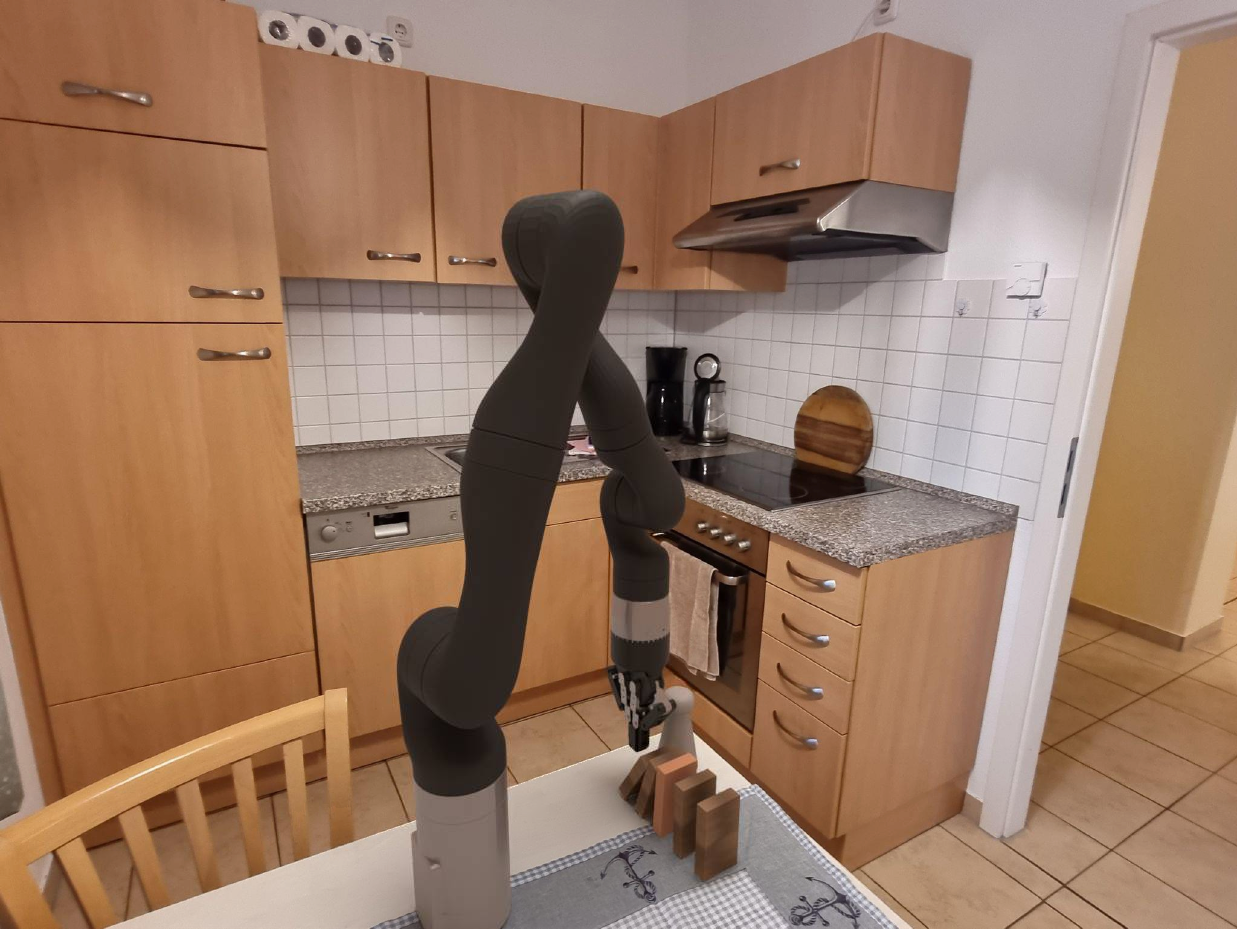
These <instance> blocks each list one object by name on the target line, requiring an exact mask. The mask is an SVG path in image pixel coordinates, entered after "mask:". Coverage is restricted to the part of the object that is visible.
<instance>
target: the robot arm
mask: <svg viewBox="0 0 1237 929" xmlns="http://www.w3.org/2000/svg"><path fill="white" fill-rule="evenodd" d="M625 237H626V234H625V225H624V221H623V217H622V214H621V211H620V209H619V207H618V205H617V204H616V203H615V201H614V199H612V197H610V196H609V195H608V194H606V193H605V192H602V191H600V190H594V189H575V190H565V191H559V192H549V193H545V194H538V195H537V194H536V195H532V196H529V197H525V198H522V199H520V200H518V201H517V202H515V203H514V204H513V206H511V207H510V209H509V210H508V211H507V213H506V216H505V217H504V219H503V224H502V227H501V247H502V252H503V257H504V259H505V262H506V265H507V268H508V269H509V272H510V274H511V276H512V277H513V280H514V282H515V284H516V286H517V287H518V289H519V291H520V292H521V294H522V296H523V298H524V299H525V302H526V303H527V305H528V307H529V308H530V311H531V312H532V314H533V315H534V316H533V319H532V322H531V324H530V325H529V326H530V327H529V329H528V332H527V334H526V335H525V337H524V339H523V341H522V343H521V344H520V346H519V347H518V348H517V350H516V351H515V353H514V354H513V355H512V357H511V358H510V359H509V361H508V362H507V363H506V365H505V366H504V367H503V369H502V370H501V372H500V373H499V374H498V376H497V377H496V378H495V380H494V381H493V382H492V384H491V385H490V387H489V388H488V390H487V391H486V393H485V394H484V396H483V398H482V400H481V401H480V403H479V404H478V407H477V410H476V412H475V415H474V418H473V420H472V424H471V428H470V433H469V436H468V440H467V444H466V448H465V453H464V456H463V460H462V465H461V469H460V478H459V480H460V482H459V502H460V513H461V523H462V530H463V531H462V534H463V540H464V552H465V553H464V554H465V555H464V556H465V566H464V567H465V570H464V579H463V585H462V589H461V595H460V598H459V602H458V606H457V607H456V606H450V605H449V606H447V605H445V606H444V605H443V606H439V607H435V608H432V609H429V610H428V611H425V612H423V613H422V614H421V615H420V616H418V617H417V618H416V619H415V620H414V621H413V622H412V623H411V624H410V626H409V627H408V629H407V630H406V632H405V633H404V635H403V637H402V639H401V642H400V645H399V648H398V652H397V659H396V682H397V694H398V695H397V696H398V702H399V711H400V712H399V714H400V723H401V729H402V737H403V743H404V745H405V747H406V748H405V749H406V750H407V753H408V755H409V758H410V760H411V765H412V777H413V778H412V779H413V792H414V796H413V797H414V811H415V825H416V826H415V827H416V830H414V831H413V832H411V834H410V840H411V855H412V857H411V859H412V870H413V885H414V886H413V887H414V890H413V891H414V904H415V911H416V914H417V916H418V919H419V921H420V923H421V925H422V928H423V929H502V927H503V926H504V925H505V923H506V922H507V920H508V919H509V915H510V913H511V906H512V894H511V893H512V883H511V860H510V859H511V858H510V857H511V856H510V831H509V830H510V829H509V827H510V826H509V825H510V824H509V797H508V793H509V792H508V766H507V764H508V763H507V762H508V760H507V759H508V755H507V741H506V738H505V734H504V732H503V730H502V728H501V725H500V724H499V723H498V721H497V718H496V716H497V715H499V713H500V712H501V711H502V710H503V708H505V705H506V704H507V702H508V701H509V699H510V698H511V695H512V693H513V691H514V688H515V686H516V683H517V682H518V681H517V680H518V678H519V674H520V673H519V672H520V668H521V664H522V659H523V653H524V646H525V639H526V631H527V623H528V617H529V610H530V604H531V599H532V598H531V597H532V590H533V586H534V580H535V575H536V571H537V567H538V563H539V558H540V554H541V549H542V545H543V541H544V536H545V530H546V526H547V522H548V519H549V514H550V510H551V506H552V502H553V499H554V496H555V493H556V489H557V486H558V482H559V478H560V475H561V470H562V467H563V462H564V459H565V458H564V457H565V455H566V451H567V450H566V449H567V445H568V440H569V436H570V432H571V431H570V430H571V426H572V421H573V418H574V416H575V410H576V407H577V404H578V407H579V410H580V413H581V415H582V419H583V421H584V423H585V427H586V430H587V432H588V435H589V437H590V441H591V444H592V446H593V449H594V452H595V454H596V456H597V458H598V460H599V461H600V462H601V463H602V464H603V465H604V466H605V467H608V468H610V469H612V470H611V471H610V472H608V474H606V477H604V480H603V482H602V485H601V488H600V492H599V512H600V516H601V520H602V524H603V528H604V532H605V536H606V537H605V538H606V540H607V544H608V548H609V552H610V554H611V557H612V596H611V597H612V598H611V602H610V631H609V632H610V640H609V641H610V642H609V643H610V648H609V650H610V654H609V655H610V660H611V662H612V663H613V664H611V665H608V666H606V667H605V672H606V676H607V678H608V681H609V686H610V687H611V691H612V693H613V696H614V699H615V702H616V705H617V707H618V711H620V712H623V711H624V717H625V720H626V721H627V723H628V726H627V727H628V728H627V729H628V730H627V731H628V734H627V737H628V747H629V748H630V749H632V751H634V752H635V753H639V752H642V751H645V750H647V749H648V748H649V746H650V741H651V740H650V737H651V736H650V733H651V729H653V728H656V727H658V726H661V725H662V724H664V721H665V719H666V718H667V717H668V716H669V715H670V714H671V713H672V712H673V711H674V710H675V709H676V707H677V705H676V702H675V700H674V699H671V700H668V699H667V697H666V695H665V693H664V692H665V690H664V689H665V687H666V686H665V684H666V683H665V679H664V674H663V671H664V668H665V667H666V665H667V664H668V663H669V660H670V653H671V652H670V650H671V647H670V645H671V644H670V643H671V614H672V613H671V602H670V601H671V600H670V567H671V565H670V556H669V552H668V550H667V549H666V548H665V547H664V546H663V545H661V544H660V543H658V542H656V541H655V540H653V539H652V538H651V537H650V535H648V533H647V531H651V532H656V533H665V532H668V531H671V530H673V529H674V528H675V527H677V526H678V525H679V523H680V522H681V520H682V518H683V516H684V514H685V511H686V503H687V502H686V497H687V496H686V491H685V487H684V484H683V481H682V478H681V476H680V474H679V473H678V471H677V469H676V467H675V466H674V464H673V462H672V461H671V459H670V458H669V456H668V454H667V453H666V451H665V450H664V448H663V446H662V445H661V444H660V442H659V441H658V439H657V438H656V436H655V434H654V432H653V427H652V424H651V421H650V418H649V414H648V410H647V407H646V403H645V400H644V397H643V395H642V392H641V389H640V388H639V387H640V386H639V385H638V383H637V381H636V379H635V377H634V376H633V374H632V372H631V371H630V369H629V368H628V366H627V365H626V364H625V362H624V361H623V360H622V358H621V357H620V355H618V353H617V352H616V351H615V348H613V346H612V345H611V344H610V342H608V340H607V339H606V337H605V336H604V334H603V333H602V332H601V330H600V329H601V324H602V322H603V320H604V316H605V314H606V312H607V308H608V306H609V303H610V300H611V297H612V294H613V292H614V289H615V286H616V283H617V282H618V277H619V274H620V270H621V267H622V262H623V258H624V250H625V240H626V238H625Z"/></svg>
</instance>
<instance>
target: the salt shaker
mask: <svg viewBox="0 0 1237 929" xmlns="http://www.w3.org/2000/svg"><path fill="white" fill-rule="evenodd" d="M664 693H665V695H666V697H667V699H668V700H671V699H674V700H675V702H676V705H677V707H676V709H675V710H674V711H673V712H672V713H671V714H670V715H669V716H668V717H667V718H666V719H665V720H664V722H663V726H662V730H661V734H660V738H659V742H658V747H657V749H659V748H661V747H664V746H666V745H669V744H671V743H672V744H673V745H674V747H675V749H676V748H678V747H682V748H683V749H684V751H685V752H686V753H690V754H691V755H693V756H694V757H695V758H696V759H697V760H698V756H697V751H696V750H697V749H696V742H695V737H694V730H693V723H692V722H693V721H692V717H691V716H692V715H691V713H692V711H693V710H694V708H695V704H696V702H695V696H694V693H693V692H692V691H691V689H689V688H687V687H685V686H680V685H676V686H675V685H674V686H671V687H668V688H666V689H665V690H664ZM698 763H699V761H698V762H697V769H698V766H699V764H698Z"/></svg>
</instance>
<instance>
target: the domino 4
mask: <svg viewBox="0 0 1237 929" xmlns="http://www.w3.org/2000/svg"><path fill="white" fill-rule="evenodd" d="M717 776H718V775H717V774H715V773H714V772H713V771H711V769H709V768H706V769H704V770H701V771H699V772H697V774H695V775H692V776H690V777H688V778H686V779H684V780H681V781H679V782H677V783H675V790H674V827H673V832H672V834H673V835H672V851H673V852H674V854H676V855H677V857H679V858H680V860H683V859H684V858H686V857H689V856H690V855H692V854H694V853H695V846H696V818H697V803H699V802H701V801H703V800H705V799H708V798H710V797H712V796H714V795H716V794H717Z"/></svg>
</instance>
